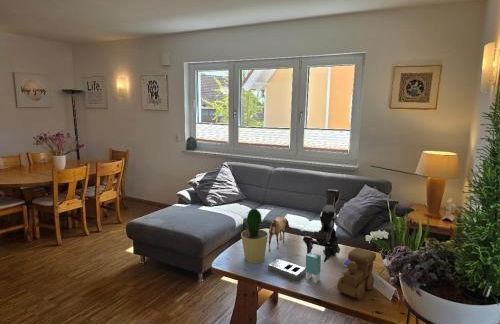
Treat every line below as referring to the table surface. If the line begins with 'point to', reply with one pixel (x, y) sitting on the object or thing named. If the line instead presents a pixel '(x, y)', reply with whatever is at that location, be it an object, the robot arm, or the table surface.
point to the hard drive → (346, 262)
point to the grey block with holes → (287, 269)
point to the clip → (313, 266)
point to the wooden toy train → (357, 273)
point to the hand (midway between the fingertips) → (315, 259)
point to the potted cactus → (254, 238)
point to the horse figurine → (278, 229)
